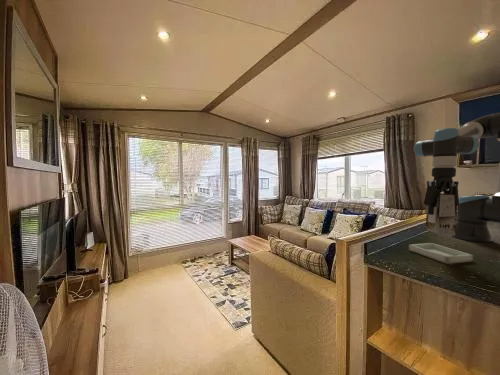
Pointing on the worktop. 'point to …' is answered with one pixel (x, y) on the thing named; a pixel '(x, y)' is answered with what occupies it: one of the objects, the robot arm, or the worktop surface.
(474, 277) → the worktop surface
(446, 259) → the tray
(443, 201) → the coffee box
